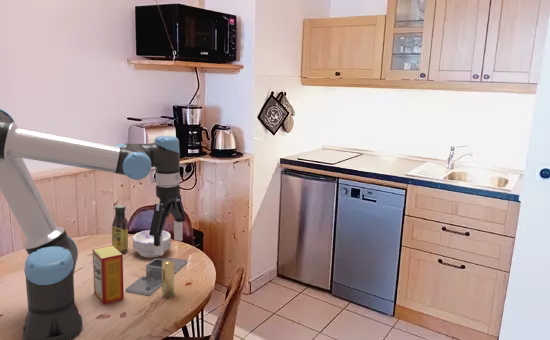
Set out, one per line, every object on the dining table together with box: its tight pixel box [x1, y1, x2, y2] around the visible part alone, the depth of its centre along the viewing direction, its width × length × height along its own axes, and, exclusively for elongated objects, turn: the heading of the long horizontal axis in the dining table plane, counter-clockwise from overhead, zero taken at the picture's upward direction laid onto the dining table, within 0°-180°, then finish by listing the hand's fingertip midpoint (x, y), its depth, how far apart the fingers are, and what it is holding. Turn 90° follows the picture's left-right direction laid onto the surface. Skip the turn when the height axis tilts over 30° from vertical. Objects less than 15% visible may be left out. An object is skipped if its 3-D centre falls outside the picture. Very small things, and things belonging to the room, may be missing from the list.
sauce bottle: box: [111, 204, 129, 255], centre depth 180 cm, size 6×6×20 cm
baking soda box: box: [92, 244, 125, 306], centre depth 144 cm, size 10×6×16 cm
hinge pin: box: [161, 259, 175, 299], centre depth 147 cm, size 4×4×12 cm
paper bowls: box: [132, 229, 172, 259], centre depth 181 cm, size 15×15×8 cm
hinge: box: [125, 256, 189, 297], centre depth 161 cm, size 29×9×5 cm, turn 166°
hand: (168, 247), depth 145 cm, fingers open, 13 cm apart
